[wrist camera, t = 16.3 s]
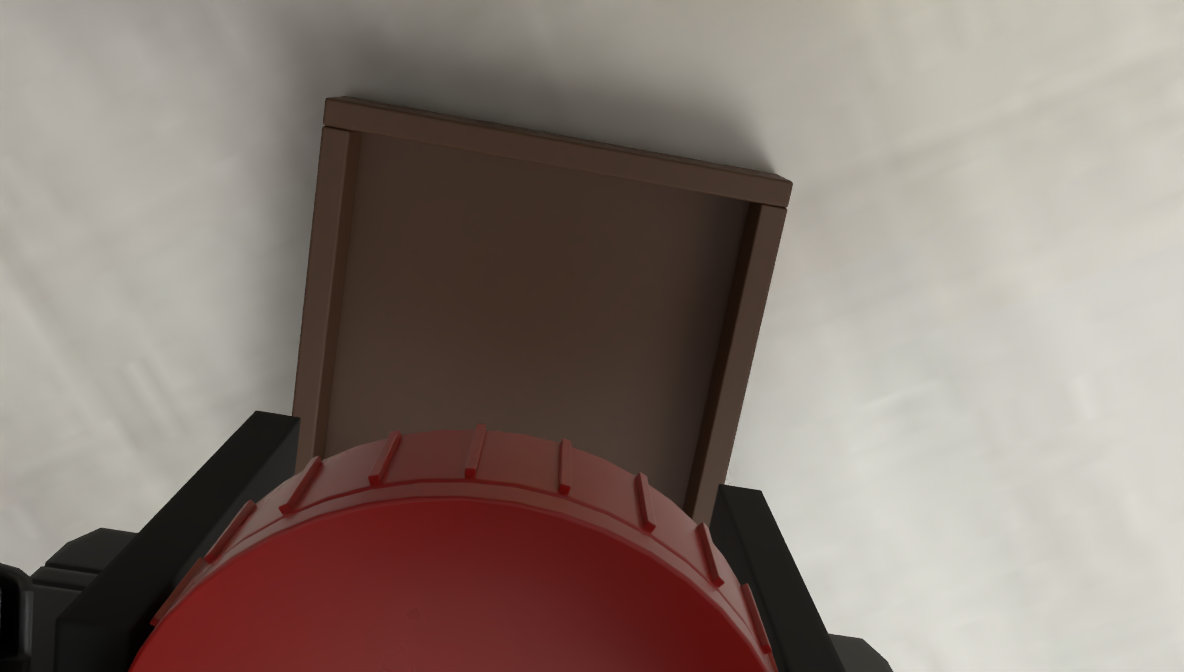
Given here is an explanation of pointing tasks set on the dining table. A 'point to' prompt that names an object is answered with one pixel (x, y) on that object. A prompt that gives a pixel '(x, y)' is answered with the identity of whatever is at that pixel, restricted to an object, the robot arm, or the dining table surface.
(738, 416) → the tray
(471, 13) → the dining table surface
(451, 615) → the lid
